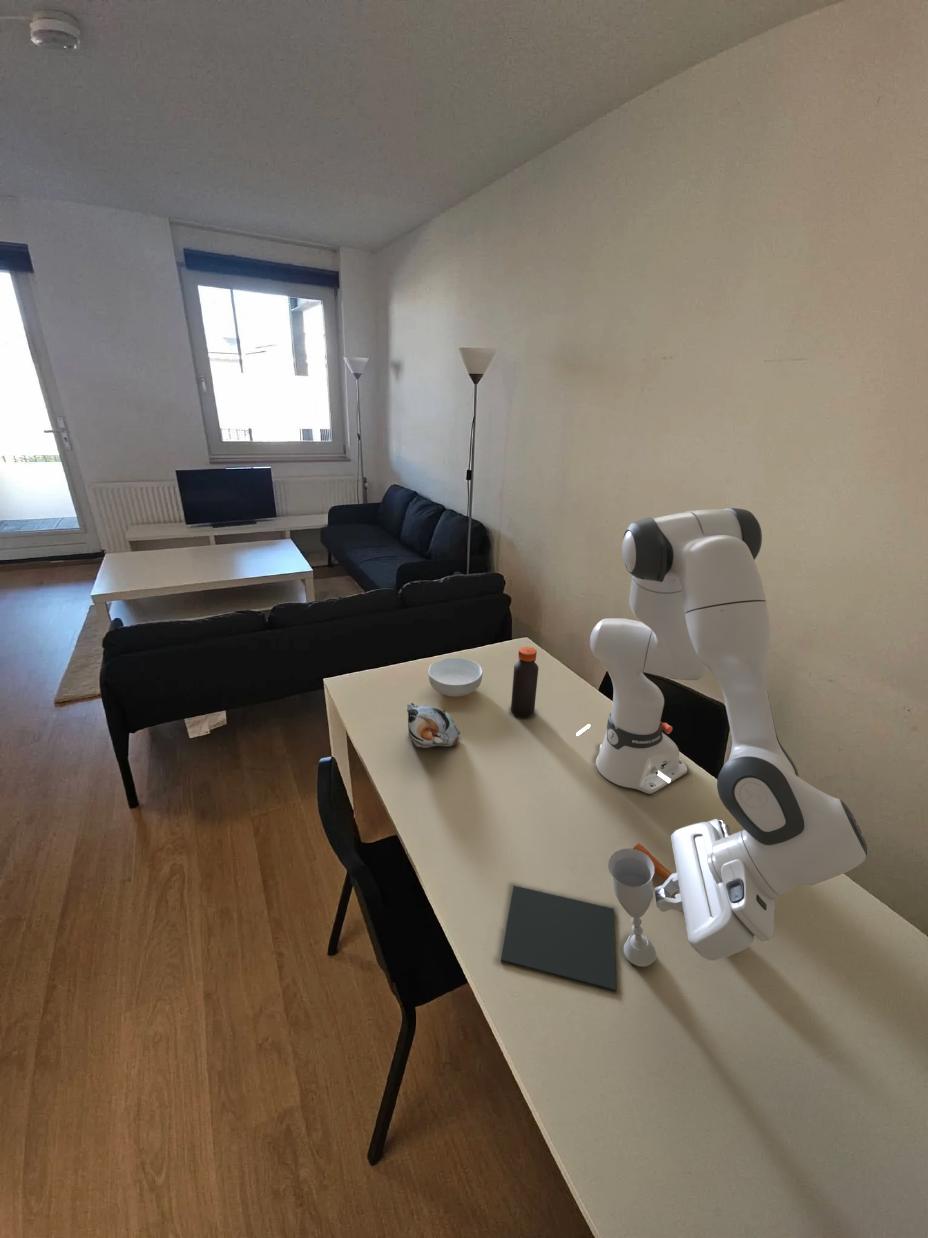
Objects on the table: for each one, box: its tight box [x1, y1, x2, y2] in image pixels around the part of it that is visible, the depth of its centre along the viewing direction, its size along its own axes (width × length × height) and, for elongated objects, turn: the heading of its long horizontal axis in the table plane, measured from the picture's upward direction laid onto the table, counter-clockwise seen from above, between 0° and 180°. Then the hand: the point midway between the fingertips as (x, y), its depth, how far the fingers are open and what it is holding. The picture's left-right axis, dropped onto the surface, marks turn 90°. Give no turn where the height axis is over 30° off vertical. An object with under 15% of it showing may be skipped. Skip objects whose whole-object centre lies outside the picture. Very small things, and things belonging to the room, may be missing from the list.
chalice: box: [607, 847, 657, 967], centre depth 80 cm, size 7×7×18 cm
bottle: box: [510, 646, 539, 719], centre depth 143 cm, size 7×7×20 cm
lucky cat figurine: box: [406, 702, 461, 749], centre depth 130 cm, size 15×12×14 cm
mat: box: [500, 885, 617, 992], centre depth 86 cm, size 18×14×1 cm
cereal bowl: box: [427, 656, 483, 697], centre depth 156 cm, size 17×17×7 cm
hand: (657, 900), depth 78 cm, fingers closed
